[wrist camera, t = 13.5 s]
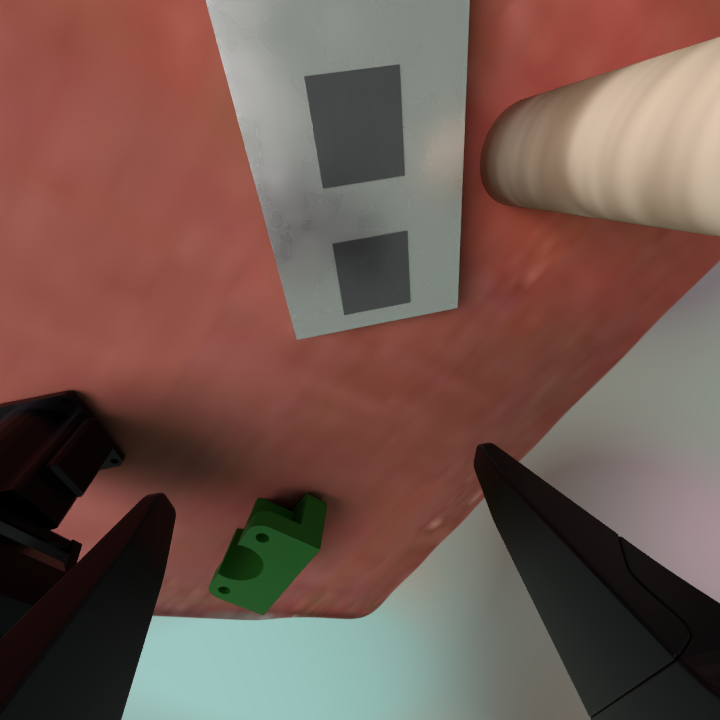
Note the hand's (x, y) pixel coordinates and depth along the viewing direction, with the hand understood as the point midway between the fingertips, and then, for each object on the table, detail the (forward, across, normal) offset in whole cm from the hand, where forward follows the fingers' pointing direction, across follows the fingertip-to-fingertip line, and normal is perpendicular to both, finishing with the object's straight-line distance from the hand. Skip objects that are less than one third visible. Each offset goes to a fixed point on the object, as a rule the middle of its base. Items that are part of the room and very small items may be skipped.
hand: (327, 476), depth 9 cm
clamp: (+12, +8, +20) cm, 25 cm away
